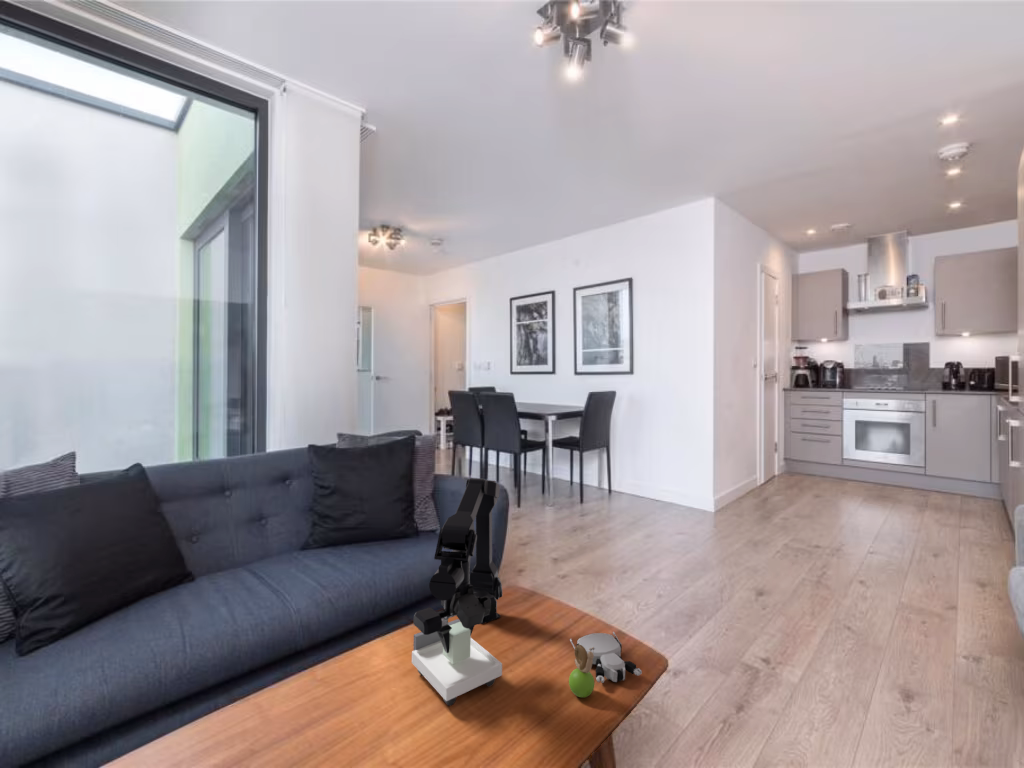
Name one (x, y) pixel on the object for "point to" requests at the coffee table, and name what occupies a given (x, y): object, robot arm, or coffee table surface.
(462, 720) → the coffee table surface
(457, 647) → the part block
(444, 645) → the robot arm
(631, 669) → the robot toy
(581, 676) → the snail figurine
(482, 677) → the tray
